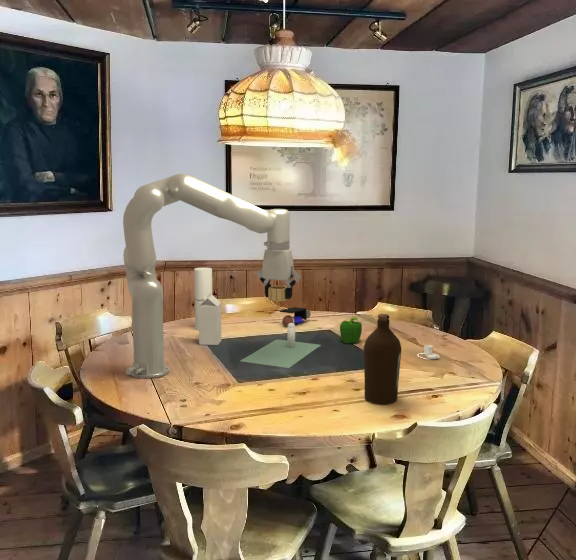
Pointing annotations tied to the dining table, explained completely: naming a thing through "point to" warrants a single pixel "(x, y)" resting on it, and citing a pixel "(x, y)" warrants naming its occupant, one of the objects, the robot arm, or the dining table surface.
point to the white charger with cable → (429, 352)
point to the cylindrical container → (201, 289)
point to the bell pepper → (350, 331)
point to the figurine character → (295, 315)
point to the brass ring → (277, 293)
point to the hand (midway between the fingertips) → (278, 297)
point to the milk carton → (210, 321)
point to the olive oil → (382, 363)
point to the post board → (282, 351)
